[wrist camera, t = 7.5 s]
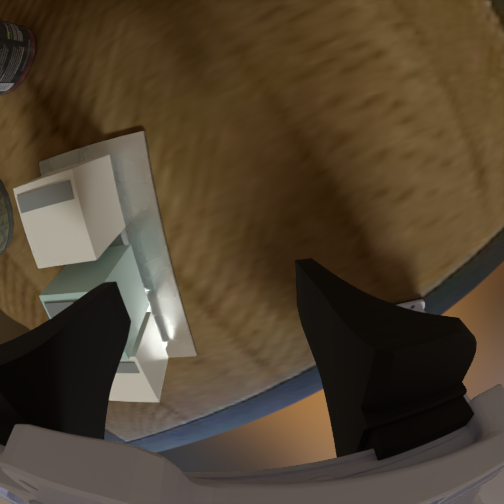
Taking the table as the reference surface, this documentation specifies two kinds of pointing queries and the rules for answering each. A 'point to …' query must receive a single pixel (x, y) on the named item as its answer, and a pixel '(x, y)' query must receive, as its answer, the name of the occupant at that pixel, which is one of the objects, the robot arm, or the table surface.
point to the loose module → (93, 274)
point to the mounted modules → (90, 253)
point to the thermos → (5, 219)
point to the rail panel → (141, 231)
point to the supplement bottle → (15, 55)
